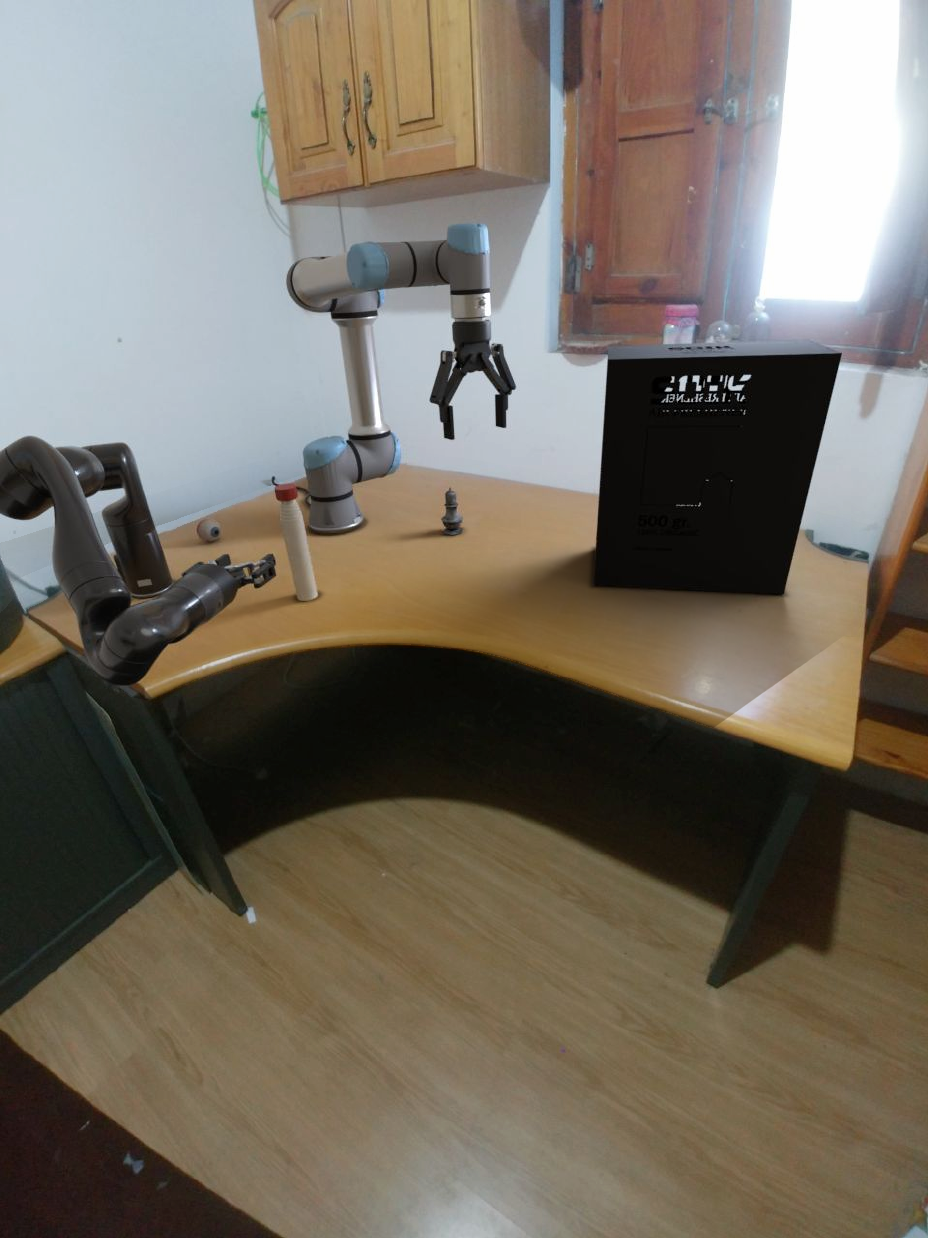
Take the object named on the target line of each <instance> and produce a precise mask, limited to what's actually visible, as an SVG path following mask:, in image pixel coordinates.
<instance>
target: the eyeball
mask: <svg viewBox="0 0 928 1238" xmlns="http://www.w3.org/2000/svg"><path fill="white" fill-rule="evenodd" d="M196 534H197V536H198V538H199V539H201V540H202V541H204V542H208V543H209V542H211V543H212V542H215V541H216V540H218V539H219V538H220V536H221V534H222V529H221V526H220V524H219V523H218V522H217V521H216V520H214V519H211V518H206V519H203V520H200V521H199V522H198V524H197V526H196Z"/></svg>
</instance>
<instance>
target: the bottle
mask: <svg viewBox="0 0 928 1238" xmlns="http://www.w3.org/2000/svg"><path fill="white" fill-rule="evenodd" d="M279 502H280V503H279V520H280V525H281V530H282V534H283V537H284V538H283V540H284V543H285V549H286V553H287V557H288V562H289V566H290V572H291V576H292V582H293V586H294V590H295V595H296V599H297V600H298V601H301V602H308V601H312V600H314V599H317V597H318V596H319V592H318V587H317V582H316V578H315V577H316V576H315V572H314V567H313V562H312V556H311V551H310V546H309V542H308V541H309V540H308V536H307V530H306V525H305V519H304V516H303V512H302V510H301V507H300V505H299V504H298V501H297V500H296V499H294V500H291V501H279Z"/></svg>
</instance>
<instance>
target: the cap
mask: <svg viewBox="0 0 928 1238" xmlns="http://www.w3.org/2000/svg"><path fill="white" fill-rule="evenodd" d="M296 486H297V485H296V484H295V483H290V482H289V483H281V484H280V485H278V486H275V487H274V494H275V498H276V500H277V501H279V502H280V501H291V500H294V499H295V500H296V499H298V497H299V494H298V489H297V488H296Z"/></svg>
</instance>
